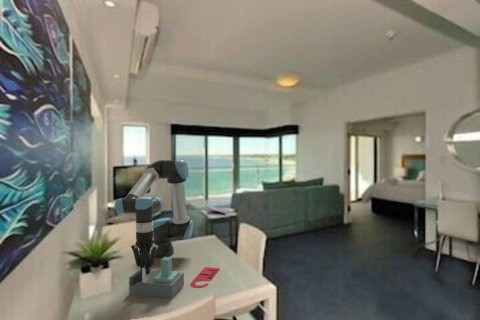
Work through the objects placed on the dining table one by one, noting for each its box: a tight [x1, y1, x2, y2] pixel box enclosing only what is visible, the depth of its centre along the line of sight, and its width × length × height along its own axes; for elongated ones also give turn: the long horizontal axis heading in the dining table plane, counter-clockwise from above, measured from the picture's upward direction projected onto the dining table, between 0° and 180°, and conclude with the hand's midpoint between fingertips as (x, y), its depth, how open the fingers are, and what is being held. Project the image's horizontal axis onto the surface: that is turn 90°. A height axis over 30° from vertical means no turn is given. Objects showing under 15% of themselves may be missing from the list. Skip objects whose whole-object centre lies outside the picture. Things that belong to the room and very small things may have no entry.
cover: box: [154, 256, 180, 283], centre depth 137 cm, size 9×9×10 cm
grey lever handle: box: [128, 267, 142, 286], centre depth 134 cm, size 12×3×4 cm, turn 169°
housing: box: [128, 269, 185, 299], centre depth 138 cm, size 14×22×6 cm, turn 79°
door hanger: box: [190, 266, 221, 289], centre depth 151 cm, size 9×1×25 cm
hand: (145, 281), depth 130 cm, fingers closed
